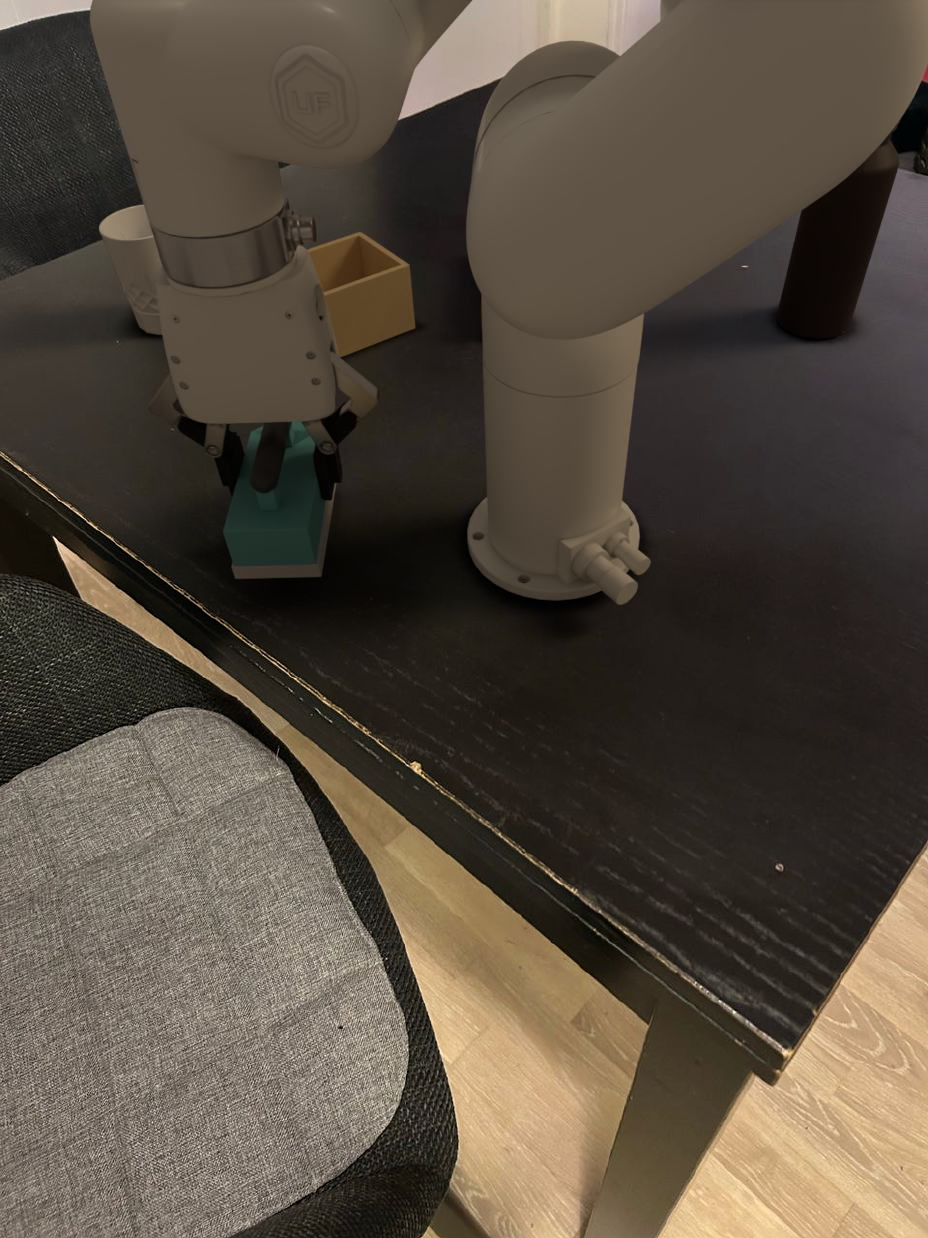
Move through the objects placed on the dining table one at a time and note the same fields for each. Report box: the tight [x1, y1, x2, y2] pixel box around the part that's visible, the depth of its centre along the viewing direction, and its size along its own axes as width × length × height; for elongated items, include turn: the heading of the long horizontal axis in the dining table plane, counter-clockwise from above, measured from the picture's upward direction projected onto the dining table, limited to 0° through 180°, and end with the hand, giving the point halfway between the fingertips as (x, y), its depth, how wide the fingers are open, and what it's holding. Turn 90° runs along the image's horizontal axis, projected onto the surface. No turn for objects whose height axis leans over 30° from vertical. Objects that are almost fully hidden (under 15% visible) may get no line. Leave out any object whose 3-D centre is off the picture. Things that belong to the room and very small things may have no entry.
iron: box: [222, 421, 337, 580], centre depth 62 cm, size 15×6×8 cm, turn 0°
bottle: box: [776, 119, 901, 340], centre depth 77 cm, size 7×7×20 cm
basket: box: [306, 231, 416, 358], centre depth 85 cm, size 9×13×6 cm
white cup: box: [98, 204, 162, 336], centre depth 86 cm, size 8×8×10 cm
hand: (285, 487), depth 63 cm, fingers closed on iron, 5 cm apart
